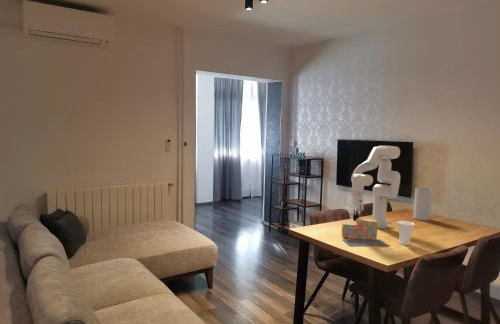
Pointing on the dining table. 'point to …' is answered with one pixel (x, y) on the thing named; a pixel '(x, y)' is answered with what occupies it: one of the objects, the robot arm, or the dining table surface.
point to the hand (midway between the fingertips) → (355, 220)
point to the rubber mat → (366, 242)
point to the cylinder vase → (422, 204)
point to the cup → (405, 231)
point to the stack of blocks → (360, 229)
